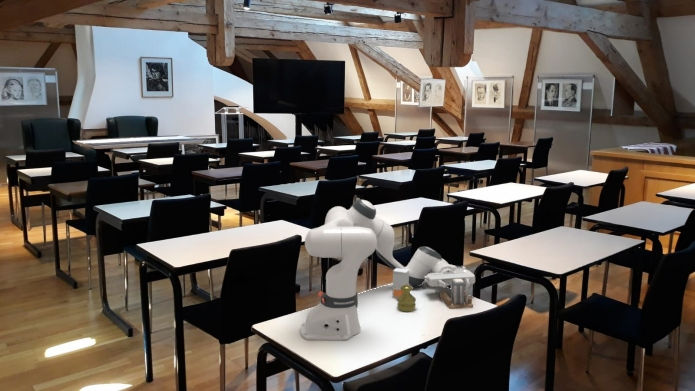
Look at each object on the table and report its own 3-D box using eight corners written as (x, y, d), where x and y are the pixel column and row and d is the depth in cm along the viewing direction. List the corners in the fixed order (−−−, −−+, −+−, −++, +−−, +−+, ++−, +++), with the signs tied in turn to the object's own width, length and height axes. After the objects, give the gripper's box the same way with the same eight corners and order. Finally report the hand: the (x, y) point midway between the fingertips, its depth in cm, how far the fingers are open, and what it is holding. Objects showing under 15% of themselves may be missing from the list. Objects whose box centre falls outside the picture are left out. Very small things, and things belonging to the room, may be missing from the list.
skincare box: (392, 297, 242) (392, 270, 240) (395, 294, 246) (395, 267, 244) (405, 299, 240) (406, 272, 237) (408, 296, 243) (409, 269, 241)
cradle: (449, 309, 229) (450, 287, 228) (440, 298, 241) (440, 278, 239) (473, 307, 231) (474, 286, 229) (462, 297, 242) (463, 276, 240)
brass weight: (414, 312, 226) (415, 289, 224) (395, 311, 227) (396, 287, 225) (416, 305, 233) (416, 282, 231) (398, 304, 234) (398, 281, 232)
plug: (454, 306, 232) (455, 282, 230) (451, 303, 235) (452, 278, 233) (464, 306, 232) (465, 281, 230) (460, 302, 236) (461, 278, 234)
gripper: (422, 268, 245) (432, 279, 232) (467, 266, 249) (480, 276, 235) (422, 282, 247) (432, 294, 233) (467, 279, 250) (479, 291, 237)
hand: (457, 285), depth 234 cm, fingers open, 8 cm apart
